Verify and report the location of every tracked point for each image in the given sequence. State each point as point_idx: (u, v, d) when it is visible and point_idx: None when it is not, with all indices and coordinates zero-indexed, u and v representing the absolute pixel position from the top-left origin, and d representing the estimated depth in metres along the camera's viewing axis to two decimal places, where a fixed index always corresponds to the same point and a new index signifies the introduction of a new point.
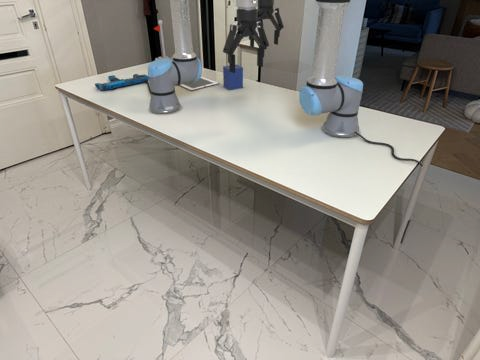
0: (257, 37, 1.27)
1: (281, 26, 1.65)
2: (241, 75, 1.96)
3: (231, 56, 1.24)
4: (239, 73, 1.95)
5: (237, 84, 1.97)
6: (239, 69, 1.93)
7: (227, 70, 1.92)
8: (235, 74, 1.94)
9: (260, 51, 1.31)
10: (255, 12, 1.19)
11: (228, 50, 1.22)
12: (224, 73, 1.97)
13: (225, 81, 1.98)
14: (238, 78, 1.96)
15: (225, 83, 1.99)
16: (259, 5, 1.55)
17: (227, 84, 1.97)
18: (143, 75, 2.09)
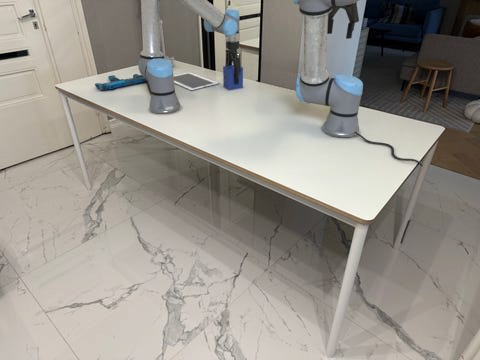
0: (233, 62, 1.90)
1: None
2: (241, 75, 1.96)
3: None
4: (239, 73, 1.95)
5: (237, 84, 1.97)
6: None
7: (227, 70, 1.92)
8: None
9: None
10: (227, 43, 1.86)
11: (225, 65, 2.00)
12: (224, 73, 1.97)
13: (225, 81, 1.98)
14: None
15: (225, 83, 1.99)
16: None
17: (227, 84, 1.97)
18: None
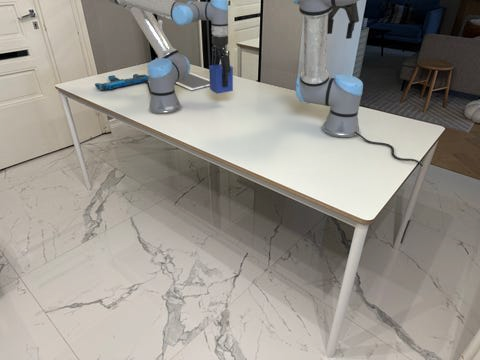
0: (221, 60, 1.60)
1: None
2: (231, 76, 1.65)
3: None
4: (229, 74, 1.64)
5: (226, 87, 1.67)
6: None
7: (214, 70, 1.61)
8: None
9: None
10: (214, 38, 1.55)
11: (212, 64, 1.69)
12: (210, 74, 1.66)
13: (212, 83, 1.67)
14: None
15: (212, 85, 1.68)
16: None
17: (214, 87, 1.66)
18: (143, 75, 2.09)
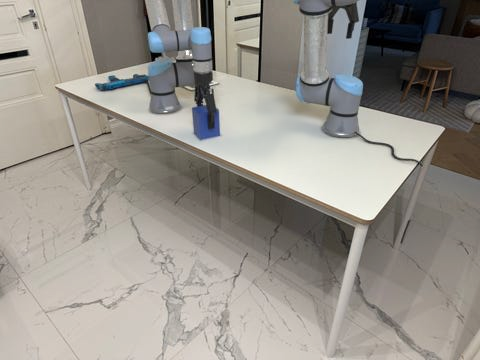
0: (205, 100, 1.35)
1: None
2: (217, 120, 1.42)
3: (197, 105, 1.45)
4: (214, 117, 1.40)
5: (211, 132, 1.43)
6: None
7: (197, 114, 1.38)
8: None
9: None
10: (195, 75, 1.31)
11: (194, 99, 1.45)
12: (193, 117, 1.42)
13: (195, 127, 1.44)
14: None
15: (195, 130, 1.45)
16: None
17: (198, 132, 1.43)
18: (143, 75, 2.09)
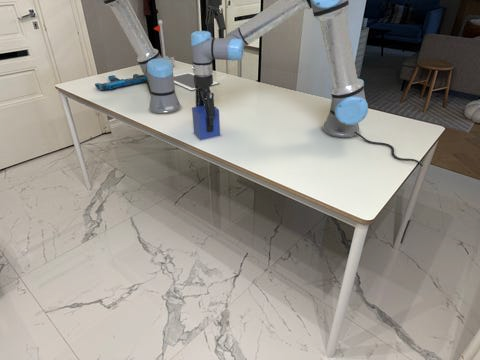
0: (216, 19, 1.70)
1: None
2: (217, 120, 1.42)
3: (208, 27, 1.82)
4: (214, 117, 1.40)
5: (211, 132, 1.43)
6: None
7: (197, 114, 1.38)
8: None
9: None
10: None
11: (206, 22, 1.81)
12: (194, 117, 1.42)
13: (195, 127, 1.44)
14: (213, 124, 1.42)
15: (195, 130, 1.45)
16: (208, 85, 1.32)
17: (198, 132, 1.43)
18: (143, 75, 2.09)
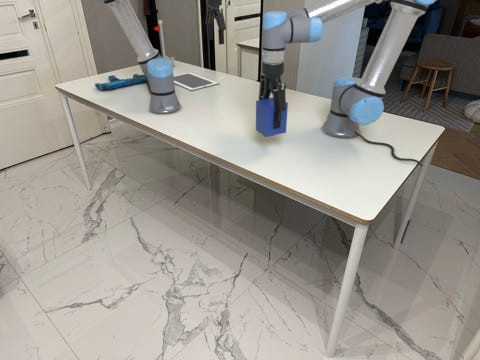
0: (216, 19, 1.70)
1: None
2: (285, 114, 1.25)
3: (208, 27, 1.82)
4: None
5: (277, 129, 1.26)
6: None
7: (263, 108, 1.21)
8: None
9: None
10: None
11: (206, 22, 1.81)
12: (258, 111, 1.26)
13: (259, 123, 1.27)
14: None
15: (259, 126, 1.28)
16: (280, 74, 1.15)
17: (262, 128, 1.26)
18: (143, 75, 2.09)
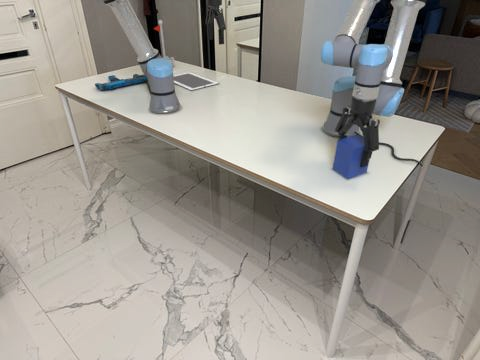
0: (216, 19, 1.70)
1: (343, 128, 1.20)
2: None
3: (208, 27, 1.82)
4: None
5: (359, 170, 1.18)
6: None
7: (349, 149, 1.12)
8: (360, 155, 1.14)
9: None
10: None
11: (206, 22, 1.81)
12: (339, 151, 1.17)
13: (339, 163, 1.18)
14: None
15: (338, 166, 1.19)
16: (372, 111, 1.06)
17: (344, 169, 1.17)
18: (143, 75, 2.09)
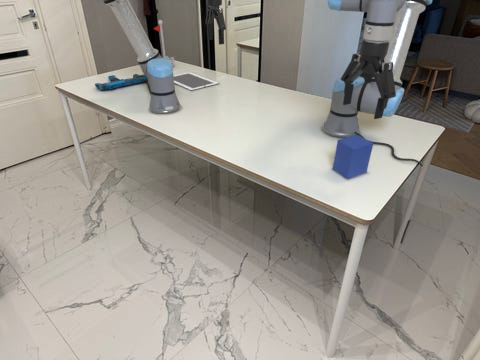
0: (216, 19, 1.70)
1: None
2: (368, 155, 1.16)
3: (208, 27, 1.82)
4: (367, 152, 1.15)
5: (359, 170, 1.18)
6: (368, 146, 1.13)
7: (349, 149, 1.12)
8: (360, 155, 1.14)
9: None
10: None
11: (206, 22, 1.81)
12: (339, 151, 1.17)
13: (339, 163, 1.18)
14: (363, 160, 1.16)
15: (338, 166, 1.19)
16: (384, 54, 0.97)
17: (344, 169, 1.17)
18: (143, 75, 2.09)
